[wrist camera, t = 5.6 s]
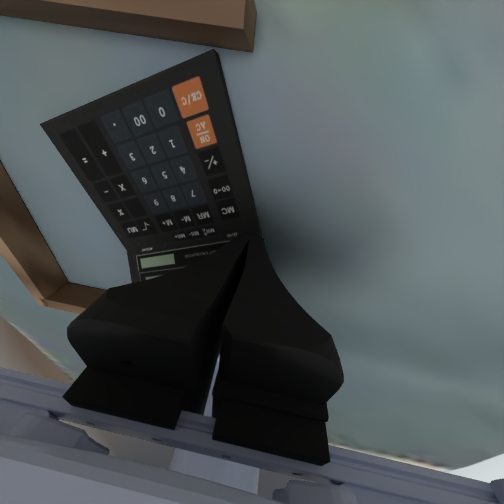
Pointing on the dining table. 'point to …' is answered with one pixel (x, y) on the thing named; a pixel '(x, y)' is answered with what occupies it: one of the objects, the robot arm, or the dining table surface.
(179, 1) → the brown angled flat piece
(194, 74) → the calculator
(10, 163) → the dining table surface
